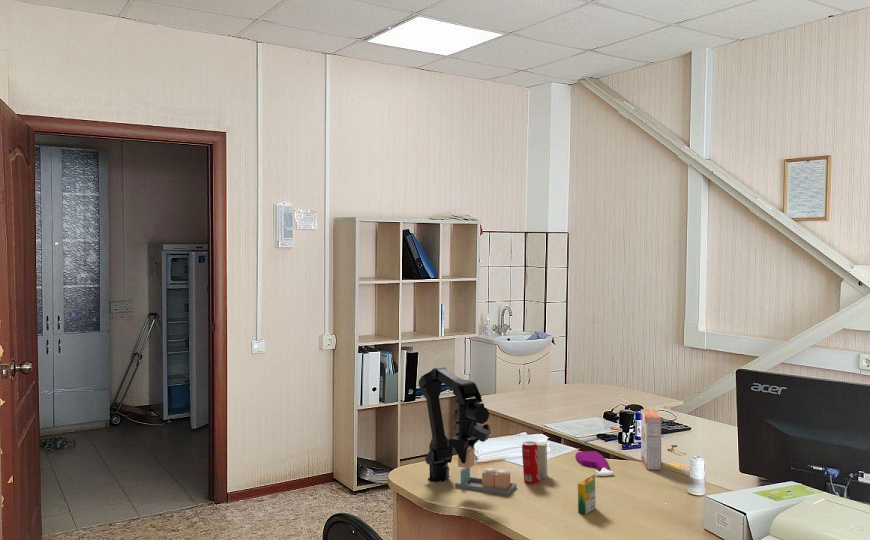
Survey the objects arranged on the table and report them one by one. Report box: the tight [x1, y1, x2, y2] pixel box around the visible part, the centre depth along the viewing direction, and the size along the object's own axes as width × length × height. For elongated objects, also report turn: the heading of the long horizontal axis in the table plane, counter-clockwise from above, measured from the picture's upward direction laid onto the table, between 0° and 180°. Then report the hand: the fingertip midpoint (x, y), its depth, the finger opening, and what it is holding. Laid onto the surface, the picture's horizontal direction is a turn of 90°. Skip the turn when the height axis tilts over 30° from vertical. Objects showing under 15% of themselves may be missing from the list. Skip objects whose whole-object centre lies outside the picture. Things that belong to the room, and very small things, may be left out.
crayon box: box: [577, 473, 597, 516], centre depth 230 cm, size 7×3×12 cm, turn 141°
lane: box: [454, 476, 517, 496], centre depth 251 cm, size 20×9×2 cm, turn 64°
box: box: [535, 441, 548, 479], centre depth 264 cm, size 5×4×13 cm
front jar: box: [494, 469, 511, 490], centre depth 248 cm, size 4×4×7 cm
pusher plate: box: [460, 467, 471, 484], centre depth 255 cm, size 1×6×6 cm, turn 154°
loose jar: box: [457, 446, 475, 469], centre depth 245 cm, size 4×4×7 cm
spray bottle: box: [575, 450, 615, 477], centre depth 276 cm, size 3×11×24 cm
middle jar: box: [481, 467, 498, 488], centre depth 250 cm, size 4×4×7 cm
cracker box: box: [640, 408, 662, 471], centre depth 277 cm, size 14×6×21 cm, turn 172°
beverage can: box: [521, 441, 541, 486], centre depth 257 cm, size 6×6×15 cm
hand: (466, 461), depth 245 cm, fingers closed on loose jar, 4 cm apart
